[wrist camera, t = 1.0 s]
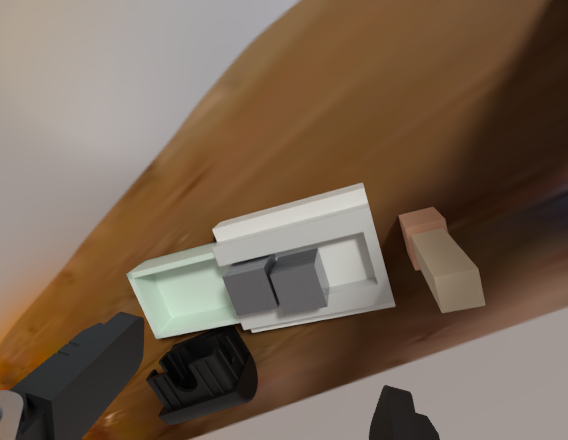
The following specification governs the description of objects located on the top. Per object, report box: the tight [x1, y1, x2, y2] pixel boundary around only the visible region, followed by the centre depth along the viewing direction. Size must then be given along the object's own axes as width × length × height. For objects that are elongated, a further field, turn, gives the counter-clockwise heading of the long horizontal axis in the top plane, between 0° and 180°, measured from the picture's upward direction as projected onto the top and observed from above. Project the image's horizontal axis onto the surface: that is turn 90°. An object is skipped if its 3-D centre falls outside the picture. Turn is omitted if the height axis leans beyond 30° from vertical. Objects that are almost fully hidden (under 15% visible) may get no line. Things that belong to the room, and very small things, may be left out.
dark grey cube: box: [222, 253, 280, 316], centre depth 32 cm, size 4×4×4 cm
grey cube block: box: [270, 248, 329, 315], centre depth 31 cm, size 4×4×4 cm
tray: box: [126, 242, 241, 339], centre depth 37 cm, size 10×8×4 cm
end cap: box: [146, 324, 258, 425], centre depth 38 cm, size 10×7×7 cm
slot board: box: [212, 183, 396, 333], centre depth 34 cm, size 15×12×4 cm
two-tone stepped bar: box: [398, 207, 486, 313], centre depth 27 cm, size 3×4×12 cm
